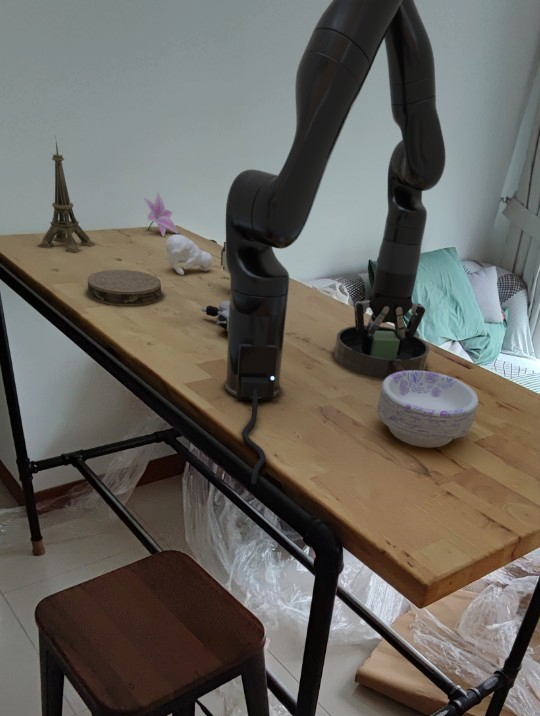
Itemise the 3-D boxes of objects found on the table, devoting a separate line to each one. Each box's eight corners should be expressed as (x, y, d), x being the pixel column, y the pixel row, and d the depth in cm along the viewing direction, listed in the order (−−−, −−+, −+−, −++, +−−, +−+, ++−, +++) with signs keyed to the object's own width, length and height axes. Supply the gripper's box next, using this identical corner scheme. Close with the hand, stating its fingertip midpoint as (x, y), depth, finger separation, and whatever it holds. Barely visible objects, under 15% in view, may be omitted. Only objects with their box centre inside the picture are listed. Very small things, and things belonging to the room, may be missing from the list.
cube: (394, 365, 127) (399, 340, 124) (370, 364, 126) (375, 339, 123) (388, 355, 131) (392, 331, 128) (364, 354, 130) (368, 330, 127)
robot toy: (197, 321, 138) (225, 342, 127) (197, 299, 136) (226, 319, 125) (249, 317, 143) (280, 337, 133) (250, 296, 141) (282, 314, 130)
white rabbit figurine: (164, 231, 158) (209, 235, 164) (161, 267, 163) (206, 270, 169) (172, 237, 154) (219, 242, 160) (169, 274, 159) (215, 277, 165)
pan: (436, 382, 123) (441, 362, 121) (344, 378, 120) (348, 358, 118) (409, 346, 137) (413, 327, 135) (326, 342, 134) (328, 323, 132)
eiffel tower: (94, 244, 175) (86, 136, 160) (75, 252, 167) (64, 140, 151) (58, 238, 176) (47, 130, 161) (38, 246, 168) (23, 134, 153)
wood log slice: (110, 310, 136) (109, 295, 134) (75, 287, 145) (74, 274, 143) (174, 300, 145) (174, 286, 143) (138, 280, 154) (137, 267, 152)
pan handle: (412, 390, 114) (414, 380, 113) (401, 390, 113) (403, 379, 112) (398, 370, 121) (400, 359, 120) (387, 369, 120) (390, 359, 119)
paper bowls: (404, 463, 97) (415, 415, 92) (357, 417, 108) (365, 372, 103) (485, 451, 103) (499, 406, 98) (433, 409, 113) (444, 366, 109)
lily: (141, 240, 187) (155, 211, 181) (126, 214, 191) (140, 185, 185) (175, 251, 195) (189, 223, 190) (160, 225, 199) (174, 198, 194)
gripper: (364, 269, 114) (349, 362, 124) (440, 275, 116) (420, 364, 126) (354, 258, 119) (341, 347, 130) (428, 263, 122) (409, 350, 132)
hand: (380, 355), depth 128 cm, fingers closed on cube, 5 cm apart
